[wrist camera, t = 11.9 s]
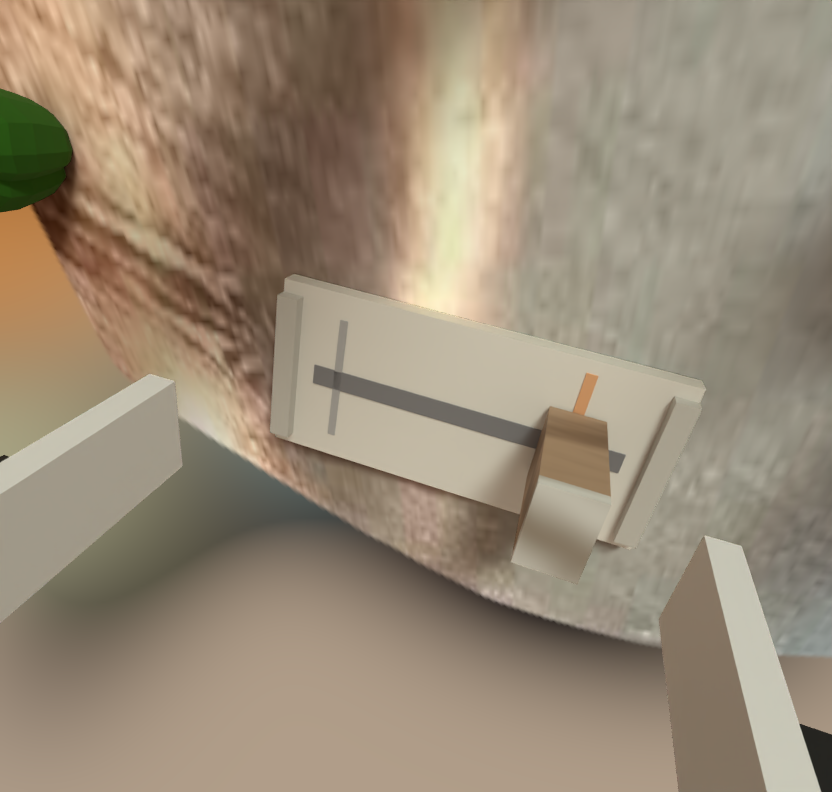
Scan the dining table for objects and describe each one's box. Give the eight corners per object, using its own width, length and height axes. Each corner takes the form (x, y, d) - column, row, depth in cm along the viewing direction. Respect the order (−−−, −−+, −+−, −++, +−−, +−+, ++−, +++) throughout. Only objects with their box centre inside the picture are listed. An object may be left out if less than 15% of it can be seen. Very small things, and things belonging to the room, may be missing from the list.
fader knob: (549, 405, 39) (537, 482, 30) (607, 421, 38) (611, 505, 30) (527, 474, 42) (510, 562, 33) (580, 490, 41) (577, 584, 32)
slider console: (294, 273, 42) (278, 281, 40) (701, 380, 37) (708, 396, 35) (283, 428, 49) (269, 442, 46) (628, 537, 44) (630, 558, 41)
